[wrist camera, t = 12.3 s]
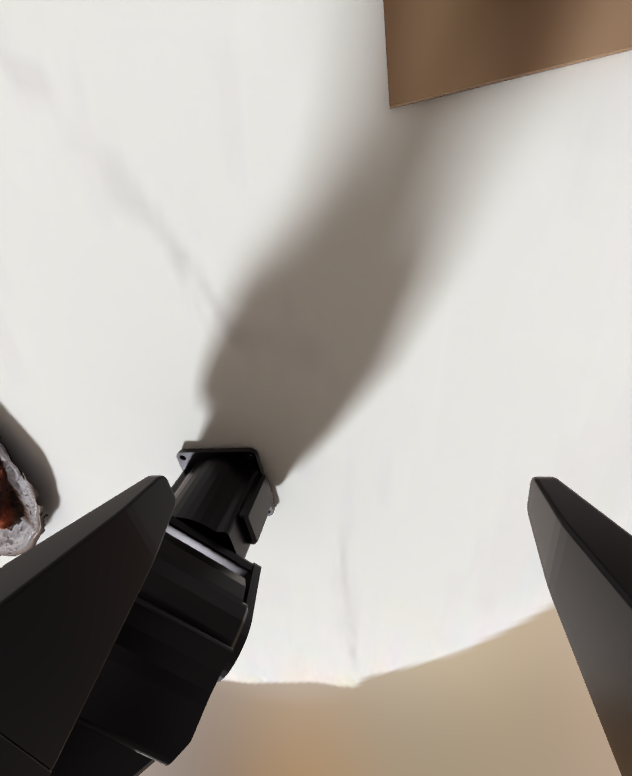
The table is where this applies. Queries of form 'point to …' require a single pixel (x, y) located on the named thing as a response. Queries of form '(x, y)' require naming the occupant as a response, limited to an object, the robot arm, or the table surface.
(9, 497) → the food plate
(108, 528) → the robot arm
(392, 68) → the plate
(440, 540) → the table surface
